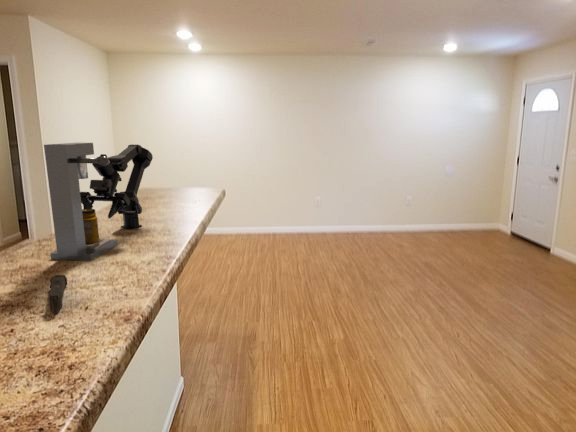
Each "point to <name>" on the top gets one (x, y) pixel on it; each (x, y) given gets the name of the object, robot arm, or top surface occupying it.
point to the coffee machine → (71, 199)
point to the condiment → (90, 227)
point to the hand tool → (57, 292)
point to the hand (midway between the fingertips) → (96, 217)
